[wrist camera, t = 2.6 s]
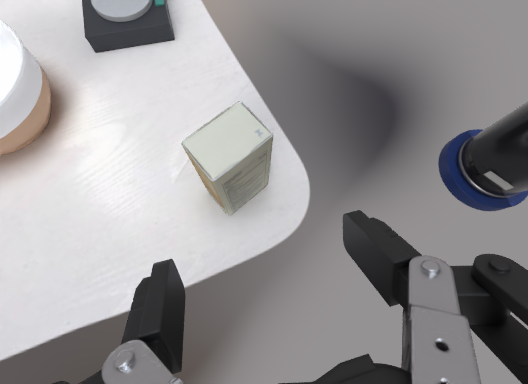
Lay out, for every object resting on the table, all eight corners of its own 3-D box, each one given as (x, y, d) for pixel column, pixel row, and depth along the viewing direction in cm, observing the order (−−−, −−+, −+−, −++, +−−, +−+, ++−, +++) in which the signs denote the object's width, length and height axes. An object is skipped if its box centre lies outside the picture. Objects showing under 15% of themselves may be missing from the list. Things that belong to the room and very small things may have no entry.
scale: (163, -14, 42) (156, -38, 39) (174, 39, 39) (167, 18, 36) (90, -3, 41) (76, -28, 38) (95, 52, 38) (81, 31, 35)
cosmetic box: (246, 160, 34) (242, 96, 22) (268, 185, 33) (278, 132, 21) (204, 191, 32) (177, 140, 20) (226, 218, 31) (212, 181, 20)
